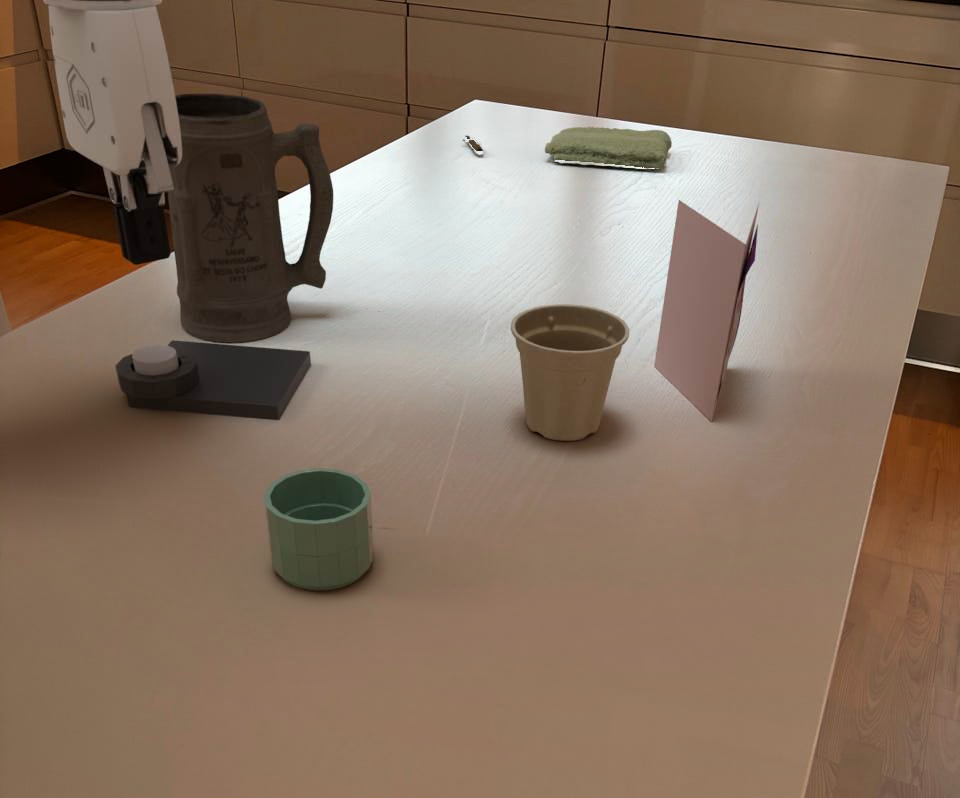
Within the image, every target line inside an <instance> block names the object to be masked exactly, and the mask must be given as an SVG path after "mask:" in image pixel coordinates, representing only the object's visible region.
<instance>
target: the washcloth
mask: <svg viewBox="0 0 960 798" xmlns="http://www.w3.org/2000/svg"><path fill="white" fill-rule="evenodd" d="M672 145H673V143H672V138H671V136H670V135H669V134H668V132H666V131H664V130H661V129H649V130H637V129H631V128H617V127H613V128H609V127H594V126H587V127H584V126H583V127H581V126H580V127H579V126H577V127H576V126H575V127H569V128H564V129H562V130H560V131H559V132H558V133H556V134H555V135H553V136H552V137H551V140H550V142H547V143H546V144H545V146H544V153H545V154H547V155H548V154H549V155H550V156H551V155H554V157H553V160H554V159H555V160H565V161H580V162H594V163H604V164H615V165H625V166H634V167H642V168H643V167H644V168H655V169H656V168H660V169H661V168H664V167H665V165H666V164H667V159H668V153H669V151H670V149H671V148H672Z"/></svg>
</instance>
